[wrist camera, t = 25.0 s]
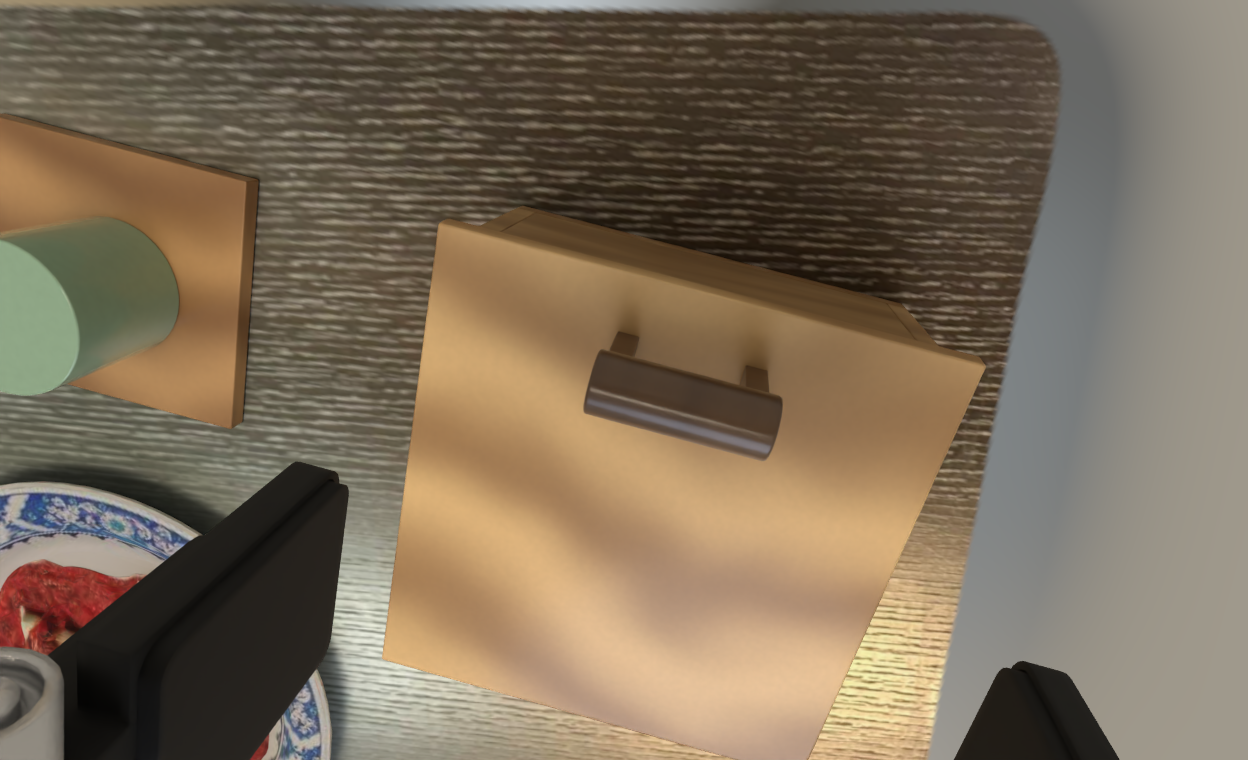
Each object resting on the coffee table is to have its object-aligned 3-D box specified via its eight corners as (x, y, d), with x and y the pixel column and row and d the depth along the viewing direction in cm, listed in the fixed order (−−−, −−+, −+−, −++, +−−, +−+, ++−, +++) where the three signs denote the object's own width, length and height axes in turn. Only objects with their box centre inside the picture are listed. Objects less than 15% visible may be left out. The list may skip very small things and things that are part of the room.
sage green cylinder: (47, 200, 35) (-83, 217, 30) (182, 235, 35) (77, 260, 29) (51, 333, 37) (-69, 373, 32) (178, 367, 37) (79, 413, 32)
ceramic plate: (272, 444, 39) (237, 469, 36) (396, 839, 47) (375, 885, 44) (-152, 484, 43) (-213, 510, 40) (27, 840, 51) (-14, 882, 48)
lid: (447, 217, 24) (377, 255, 20) (979, 356, 23) (1037, 429, 19) (389, 645, 31) (328, 748, 26) (799, 761, 30) (809, 887, 26)
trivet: (5, 113, 35) (-15, 113, 34) (259, 179, 35) (246, 181, 34) (15, 359, 39) (-2, 365, 38) (243, 421, 39) (231, 429, 38)
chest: (521, 205, 34) (454, 237, 25) (902, 303, 33) (960, 369, 25) (460, 532, 39) (389, 645, 31) (783, 621, 39) (798, 761, 30)
